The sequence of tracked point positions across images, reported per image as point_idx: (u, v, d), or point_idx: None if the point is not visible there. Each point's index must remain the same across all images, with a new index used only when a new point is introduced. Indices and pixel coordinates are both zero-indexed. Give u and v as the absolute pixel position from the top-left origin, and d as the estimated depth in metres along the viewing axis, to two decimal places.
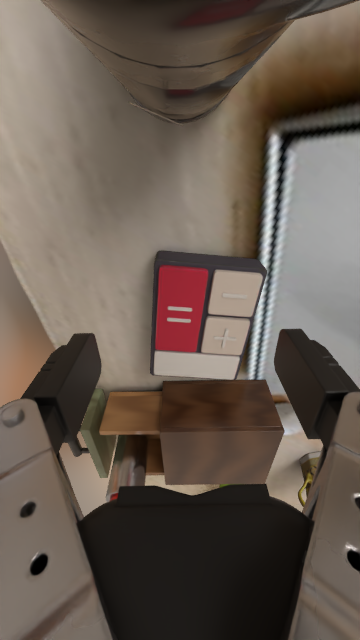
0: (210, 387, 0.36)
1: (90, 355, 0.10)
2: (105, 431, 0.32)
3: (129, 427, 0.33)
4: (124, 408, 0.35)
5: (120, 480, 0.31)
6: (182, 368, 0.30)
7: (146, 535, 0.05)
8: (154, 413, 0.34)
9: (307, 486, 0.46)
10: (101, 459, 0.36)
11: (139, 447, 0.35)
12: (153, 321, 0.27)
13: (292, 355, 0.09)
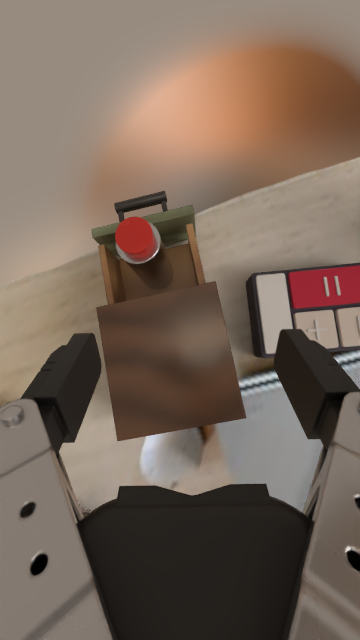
0: None
1: (90, 355, 0.10)
2: (192, 229, 0.31)
3: (198, 254, 0.31)
4: None
5: None
6: (270, 300, 0.32)
7: (146, 535, 0.05)
8: None
9: None
10: None
11: (166, 267, 0.30)
12: (314, 268, 0.33)
13: (292, 355, 0.09)
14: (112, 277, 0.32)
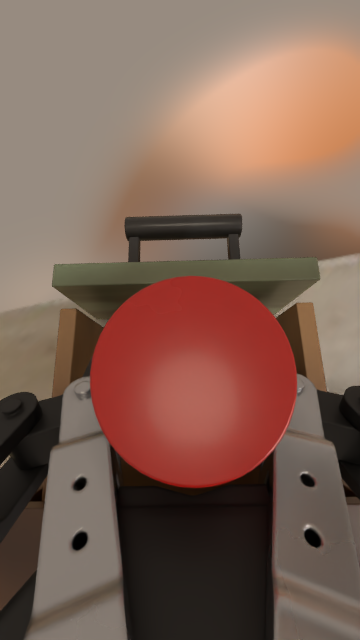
0: None
1: None
2: (313, 319, 0.12)
3: None
4: None
5: None
6: None
7: (146, 535, 0.05)
8: None
9: None
10: None
11: None
12: None
13: None
14: None
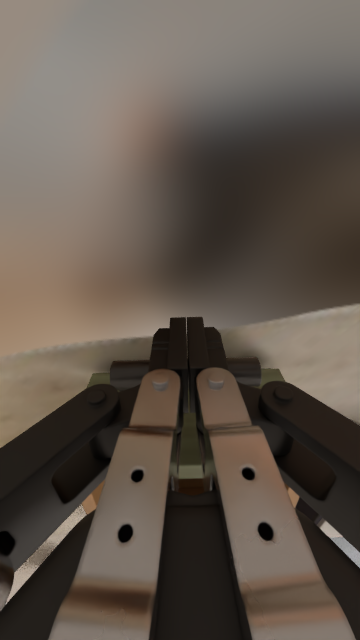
0: None
1: None
2: None
3: None
4: None
5: None
6: None
7: None
8: None
9: None
10: None
11: None
12: None
13: None
14: None
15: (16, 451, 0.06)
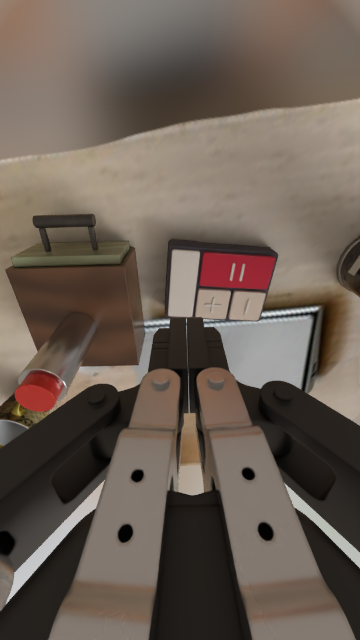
0: (138, 294, 0.39)
1: None
2: None
3: None
4: None
5: (69, 374, 0.26)
6: (180, 275, 0.35)
7: None
8: None
9: None
10: (58, 265, 0.31)
11: (83, 359, 0.30)
12: (229, 250, 0.34)
13: None
14: None
15: (16, 451, 0.06)
